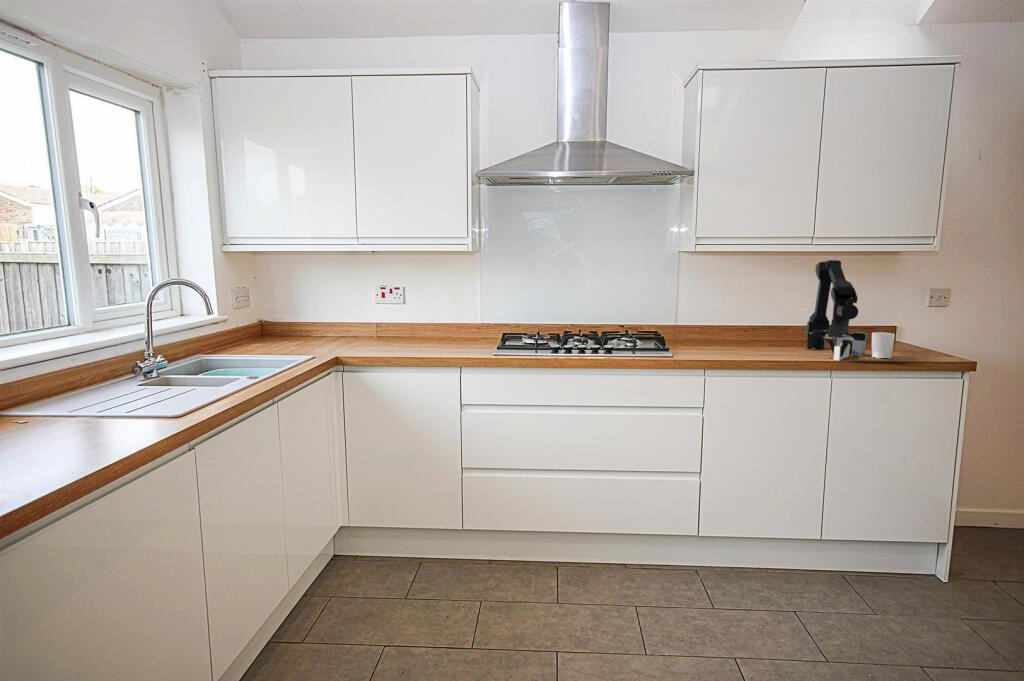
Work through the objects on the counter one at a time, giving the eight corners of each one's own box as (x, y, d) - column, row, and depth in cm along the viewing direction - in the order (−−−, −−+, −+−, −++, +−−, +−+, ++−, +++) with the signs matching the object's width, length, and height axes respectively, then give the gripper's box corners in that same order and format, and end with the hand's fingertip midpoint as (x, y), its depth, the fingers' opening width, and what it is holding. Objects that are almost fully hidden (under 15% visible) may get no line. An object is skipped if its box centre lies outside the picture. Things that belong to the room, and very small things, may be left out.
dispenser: (840, 352, 249) (842, 332, 248) (864, 355, 243) (866, 334, 242) (835, 354, 244) (837, 334, 243) (860, 357, 238) (861, 336, 236)
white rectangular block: (843, 355, 239) (844, 342, 239) (848, 356, 238) (850, 342, 237) (833, 360, 229) (834, 346, 228) (839, 360, 227) (840, 346, 226)
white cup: (869, 358, 236) (871, 333, 234) (870, 355, 242) (872, 331, 241) (892, 359, 231) (894, 335, 230) (892, 357, 238) (894, 333, 237)
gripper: (808, 316, 228) (806, 356, 230) (863, 320, 215) (859, 361, 217) (817, 315, 236) (814, 353, 238) (870, 318, 223) (866, 358, 225)
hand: (837, 356), depth 229 cm, fingers closed on white rectangular block, 2 cm apart
